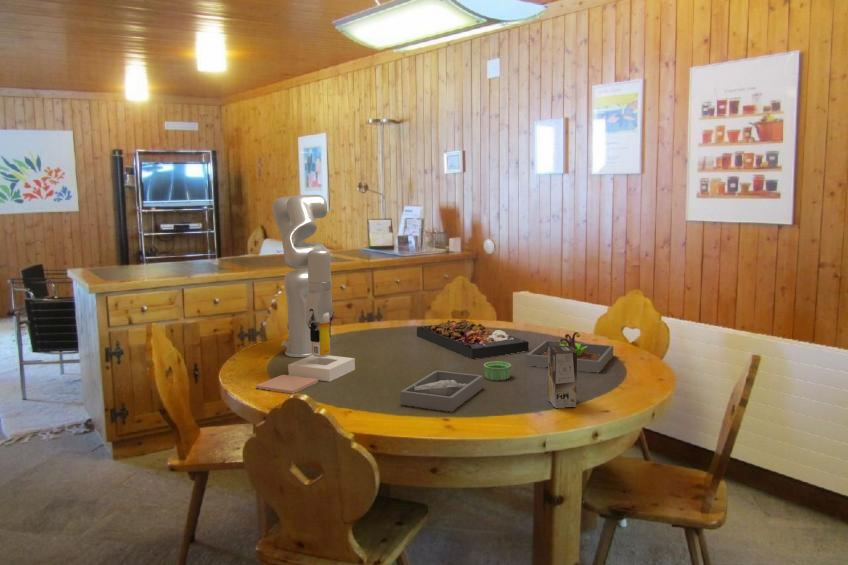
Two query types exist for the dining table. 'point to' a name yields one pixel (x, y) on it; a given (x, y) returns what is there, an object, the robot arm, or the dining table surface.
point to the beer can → (322, 338)
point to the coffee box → (562, 376)
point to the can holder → (322, 367)
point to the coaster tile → (287, 384)
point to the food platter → (472, 339)
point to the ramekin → (497, 370)
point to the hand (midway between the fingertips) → (320, 338)
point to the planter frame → (582, 365)
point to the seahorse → (440, 388)
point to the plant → (577, 348)
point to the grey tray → (440, 401)
